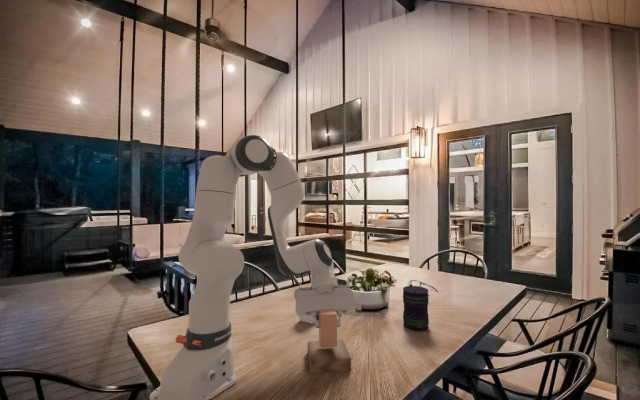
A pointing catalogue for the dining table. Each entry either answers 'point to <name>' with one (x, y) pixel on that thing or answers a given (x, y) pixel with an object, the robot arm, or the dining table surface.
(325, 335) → the terracotta block
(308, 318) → the medicine bottle
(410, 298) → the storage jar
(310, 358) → the walnut block
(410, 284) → the sunglasses
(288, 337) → the dining table surface
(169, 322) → the dining table surface
